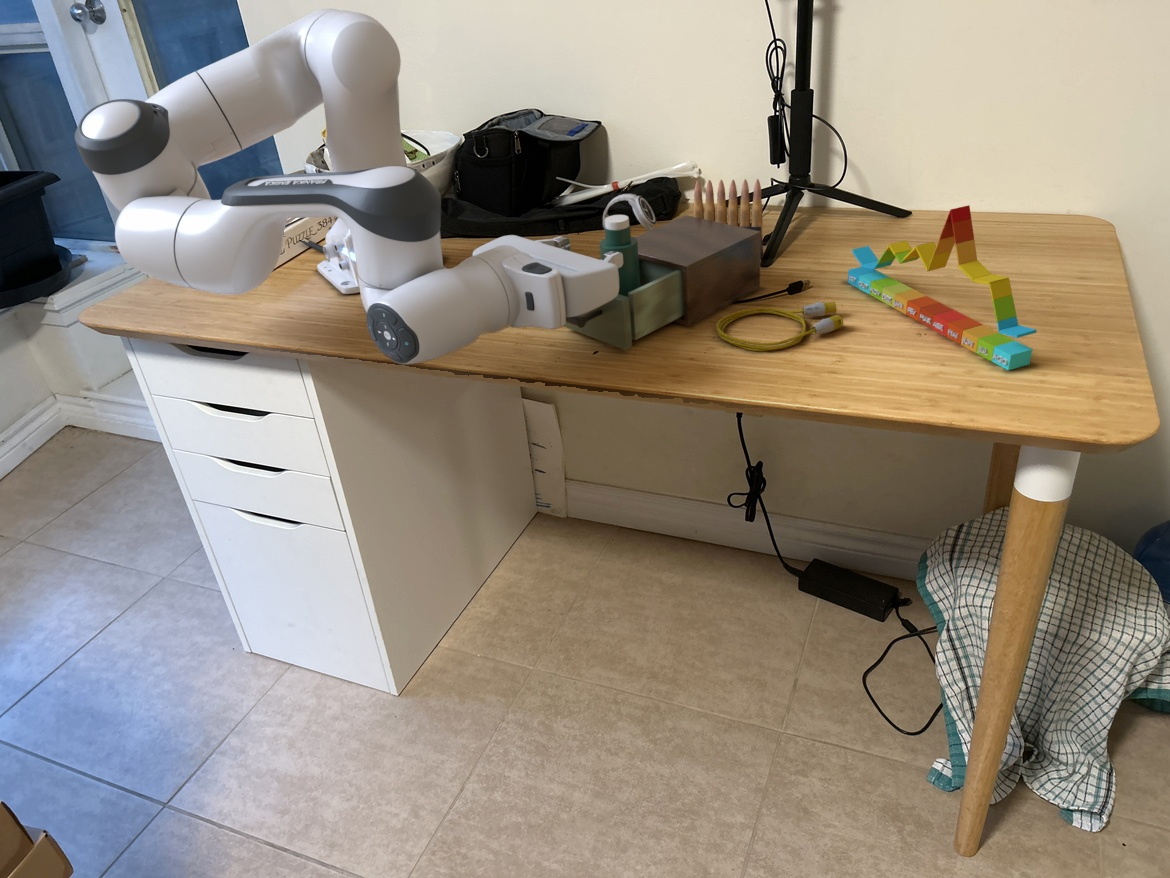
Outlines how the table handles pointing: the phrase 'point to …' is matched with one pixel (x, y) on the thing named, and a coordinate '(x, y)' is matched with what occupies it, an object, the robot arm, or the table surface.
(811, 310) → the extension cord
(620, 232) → the glue bottle
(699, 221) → the cabinet
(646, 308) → the drawer
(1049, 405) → the table surface
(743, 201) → the ammunition clip
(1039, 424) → the table surface
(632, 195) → the watch
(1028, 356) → the chart
